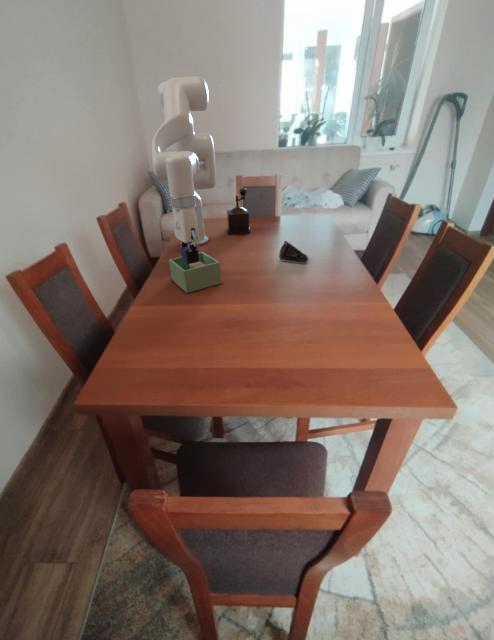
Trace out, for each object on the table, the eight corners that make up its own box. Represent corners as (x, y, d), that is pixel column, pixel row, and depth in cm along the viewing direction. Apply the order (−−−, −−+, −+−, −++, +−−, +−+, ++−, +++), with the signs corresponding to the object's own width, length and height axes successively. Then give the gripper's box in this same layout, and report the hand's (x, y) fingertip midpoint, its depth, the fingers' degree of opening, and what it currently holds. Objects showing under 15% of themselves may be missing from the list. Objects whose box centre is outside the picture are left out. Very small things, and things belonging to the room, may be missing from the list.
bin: (172, 280, 123) (168, 259, 118) (204, 271, 128) (202, 251, 123) (186, 293, 114) (183, 271, 109) (221, 283, 118) (219, 262, 114)
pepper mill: (251, 233, 163) (250, 193, 152) (228, 235, 163) (227, 194, 152) (247, 225, 175) (246, 187, 164) (226, 226, 175) (224, 188, 164)
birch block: (190, 276, 123) (189, 263, 120) (201, 273, 125) (200, 261, 122) (195, 280, 120) (194, 267, 117) (206, 277, 122) (205, 265, 119)
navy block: (181, 260, 114) (180, 246, 111) (193, 257, 115) (192, 244, 113) (187, 264, 111) (185, 250, 108) (199, 261, 112) (198, 247, 109)
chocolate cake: (313, 259, 134) (297, 234, 133) (310, 260, 128) (292, 234, 127) (294, 273, 139) (278, 250, 138) (290, 275, 133) (273, 250, 132)
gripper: (162, 199, 106) (171, 255, 117) (183, 209, 94) (190, 270, 106) (183, 196, 109) (190, 251, 120) (206, 205, 97) (211, 265, 108)
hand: (190, 259), depth 113 cm, fingers closed on navy block, 4 cm apart
